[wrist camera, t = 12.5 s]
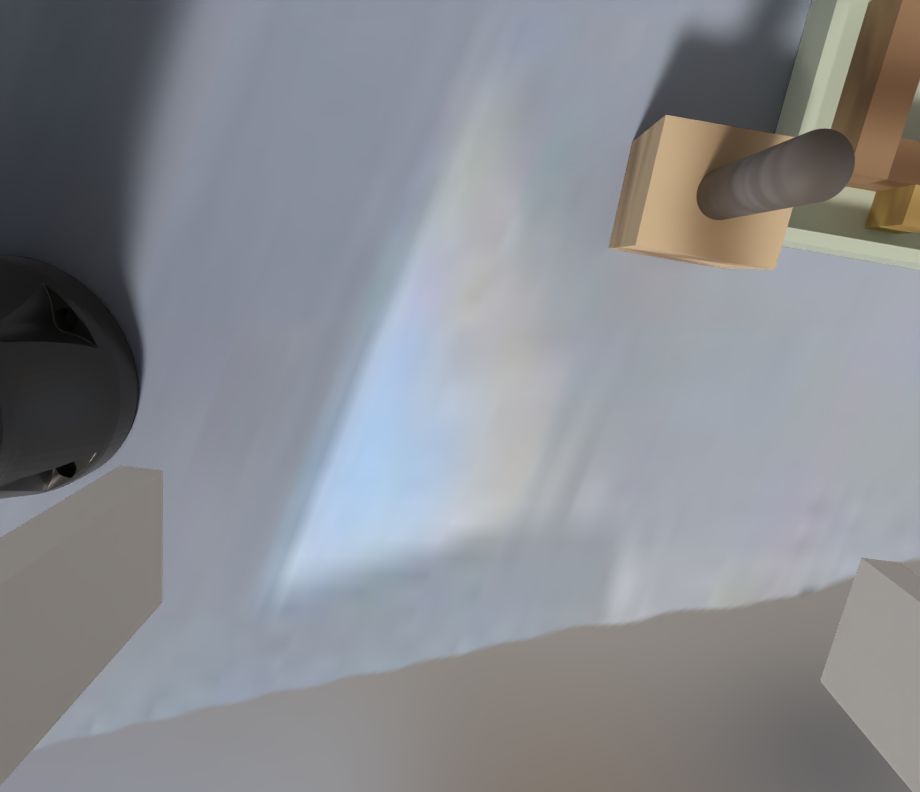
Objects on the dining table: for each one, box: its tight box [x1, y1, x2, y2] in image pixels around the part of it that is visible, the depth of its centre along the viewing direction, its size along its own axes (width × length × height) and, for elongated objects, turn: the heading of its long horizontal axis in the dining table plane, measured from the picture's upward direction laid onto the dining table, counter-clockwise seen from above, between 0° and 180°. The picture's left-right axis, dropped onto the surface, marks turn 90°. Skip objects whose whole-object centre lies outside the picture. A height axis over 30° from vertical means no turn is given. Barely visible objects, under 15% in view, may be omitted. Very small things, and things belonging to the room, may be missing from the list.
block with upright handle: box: [609, 115, 855, 269], centre depth 26 cm, size 7×6×14 cm
